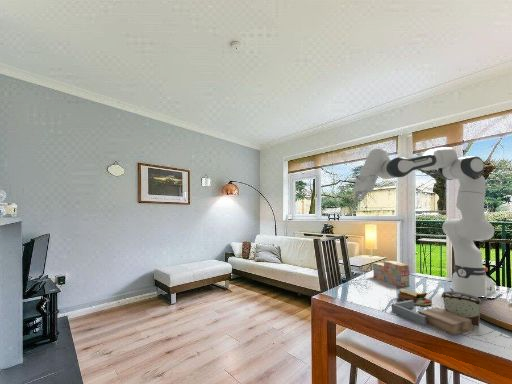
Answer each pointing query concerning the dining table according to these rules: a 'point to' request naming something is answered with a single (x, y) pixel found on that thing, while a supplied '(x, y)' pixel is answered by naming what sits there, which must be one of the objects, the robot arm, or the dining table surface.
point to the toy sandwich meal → (414, 297)
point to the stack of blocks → (392, 272)
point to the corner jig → (408, 311)
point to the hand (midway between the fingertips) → (358, 199)
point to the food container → (463, 305)
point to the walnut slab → (447, 320)
